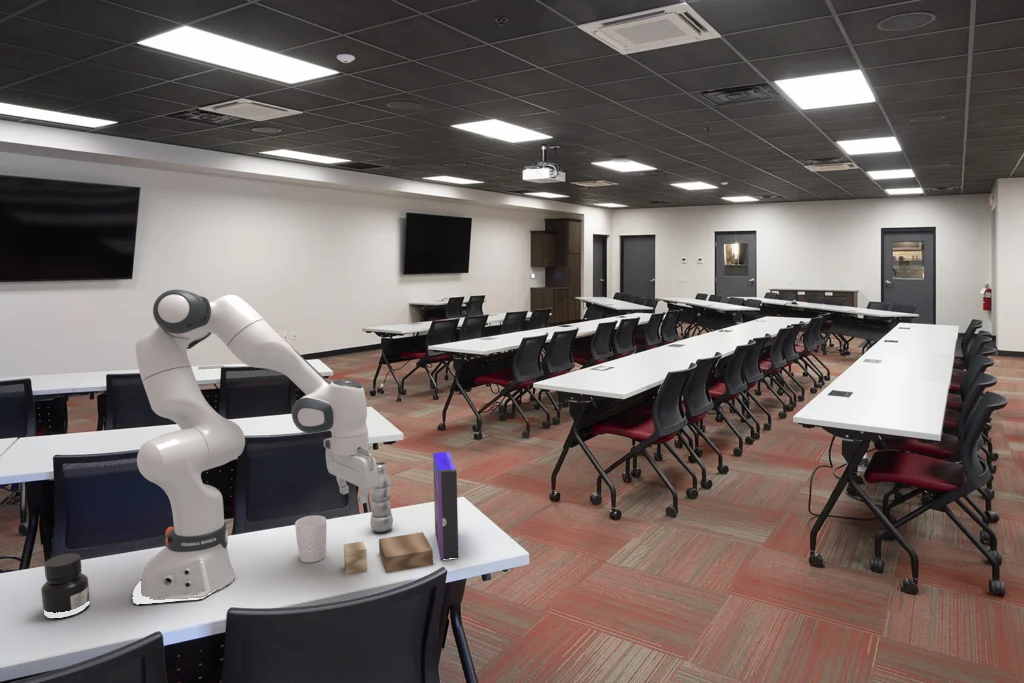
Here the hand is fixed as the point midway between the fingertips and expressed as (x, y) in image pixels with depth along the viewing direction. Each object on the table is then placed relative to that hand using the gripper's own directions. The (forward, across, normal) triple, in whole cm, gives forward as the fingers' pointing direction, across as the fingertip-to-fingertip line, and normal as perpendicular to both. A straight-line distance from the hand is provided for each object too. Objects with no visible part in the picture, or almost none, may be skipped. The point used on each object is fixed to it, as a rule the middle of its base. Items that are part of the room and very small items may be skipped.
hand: (353, 497), depth 167 cm
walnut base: (+19, -4, -12) cm, 23 cm away
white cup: (+19, +14, +5) cm, 24 cm away
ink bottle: (+18, +28, +58) cm, 67 cm away
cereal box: (+19, -5, -25) cm, 32 cm away
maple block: (+19, 0, 0) cm, 19 cm away
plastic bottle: (+19, +17, -17) cm, 31 cm away
